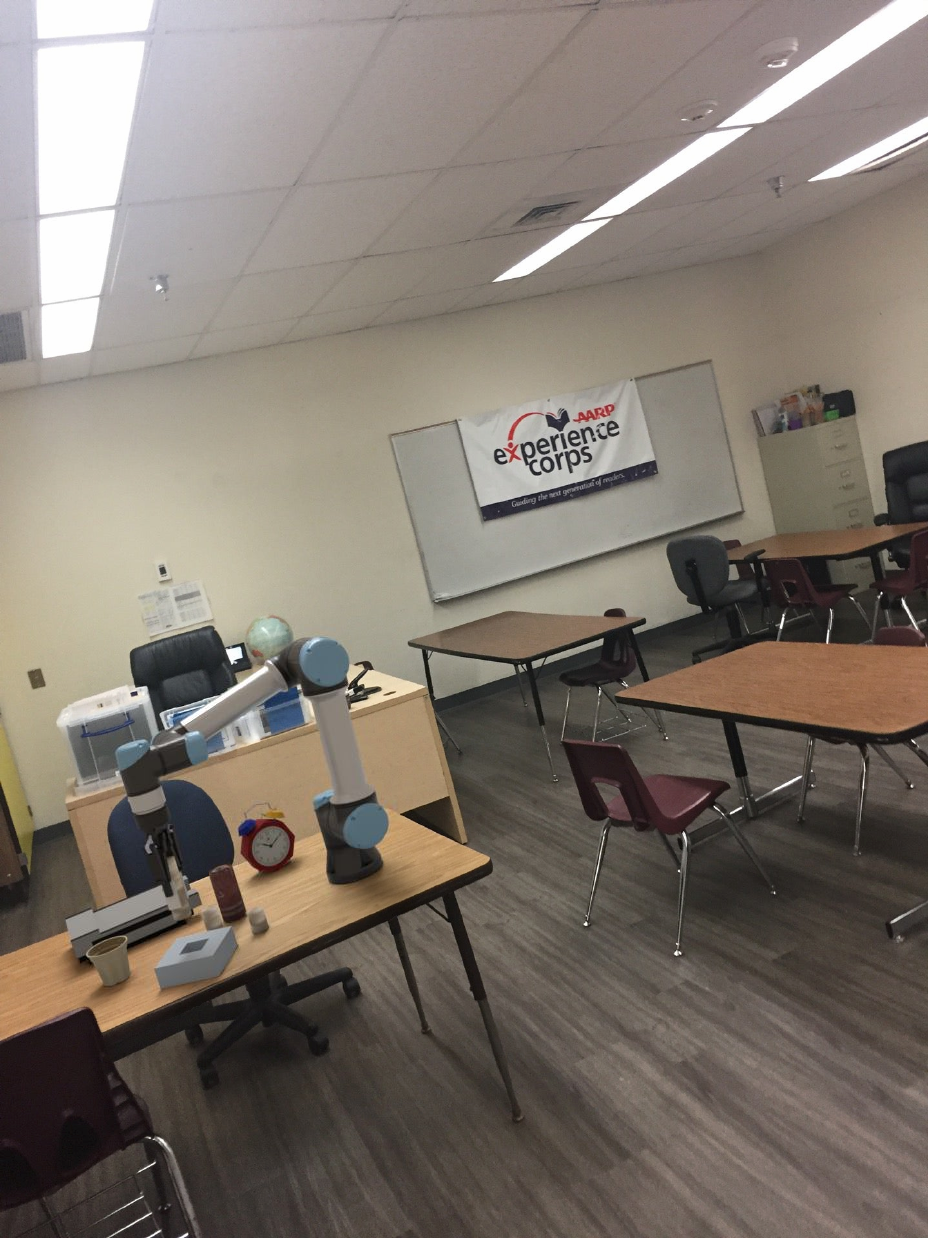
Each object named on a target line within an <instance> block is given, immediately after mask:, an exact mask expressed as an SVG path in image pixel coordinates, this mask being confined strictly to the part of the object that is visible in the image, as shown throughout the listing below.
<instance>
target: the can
mask: <svg viewBox="0 0 928 1238" xmlns="http://www.w3.org/2000/svg"><path fill="white" fill-rule="evenodd" d="M208 877H209V880H210V883H211V886H212V889H213V892H214V895H215V898H216V902H217V907H218V910H219V913H220V916H221V920H222V922H225V923H227V924H229V923H235V922H237V921H240V920H241V919H243V918H244V917H245V916H247V908H246V906H245V905H246V904H245V902H244V899H243V896H242V893H241V889H240V887H239V886H240V885H239V883H238V879H237V877H236V873H235V870H234V866H233V865H232V864H231V863H230V862H223V863H219V864H217V865H214V866H213V867H211V868H210V869H209V871H208Z"/></svg>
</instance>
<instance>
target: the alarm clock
mask: <svg viewBox="0 0 928 1238" xmlns="http://www.w3.org/2000/svg"><path fill="white" fill-rule="evenodd" d="M259 805H267V806H268V808H269V809H268V810H267V812H266V813H264V812H260V816H261V818H257V819H253V818H249V819H248V817H247V813H248V812H249V811H250V810H252V809H253V808H254V807H256V806H259ZM243 813H244V818H245V819H244V820H243V821H242V820H241V822H240V823H241V824H239V826H238V827H237V832H238V837H241V843H240V854H241V856H242V857H243V858H244V859H245V860H246V861H247V862H248V864H250V866H251V867H252V868H253V869H255V870H257V875H258V876H259V877H260V876H261V875H262V873H263V872H272V871H280V869H282V868H283V867H284V866H285V865H286V864H288V862H292V857H294V852H295V839H296V835H295V834H294V833H293V831H292V830H290V828H289V827H288V826H287V825H286V824H285V822H283V821H282V820H280V819H285V818H286V815H285V814H284V812H283V811H282V810H279V809H277V807H276V806H274V808H273V807H272V806H271V804H270V803H269V801H268V802H259V803H254V804H253V805H251V807H249V808H248V809H246V810H245V811H244V812H243ZM263 817H264V818H263Z"/></svg>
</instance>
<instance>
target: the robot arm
mask: <svg viewBox="0 0 928 1238" xmlns="http://www.w3.org/2000/svg"><path fill="white" fill-rule="evenodd" d="M349 670H350V656H349V653H348V652H347V650H346V649H345V647H344V646H343V645H342V644H341V643H339V642H338V641H337V640H334V639H332V638H328V637H323V636H319V637H317V636H316V637H302V638H298V639H295V640H294V641H292V642H290V643H289V644H288V645H286V646H285V647H284V648H282V649H281V650H279V651H278V652H276V653H275V654H274V655H272V656H270V657H269V658H268V659H266V660H265V661H264V663H263V667H261V668H260V669H258V670H256V671H255V672H254V673H252V674H251V675H249V676H247V677H245V678H244V679H242V680H241V681H240V682H238V683H236V684H235V685H234V686H232V687H230V688H229V689H228V690H226V691H225V692H223V693H222V694H219V695H218V696H217V697H215V698H214V699H212V700H211V701H209V702H208V703H206V704H204V705H203V706H202V707H200V708H198V709H197V710H195V711H194V712H192V713H191V714H189V715H188V716H187V717H184V718H183V719H181V720H180V721H179V722H177V723H176V724H174V725H173V726H171V727H169V728H168V729H163V730H160V731H158V732H157V733H155V734H154V735H153V736H152V738H151V740H150V743H149V741H148V740H146V739H138V740H135V741H130V742H127V743H125V744H122V745H121V746H119V747H118V748H116V750H115V753H114V756H115V759H116V760H115V761H116V762H117V763H116V764H117V767H118V768H117V769H118V771H119V775H120V778H121V781H122V783H123V787H124V789H125V793H126V796H127V802H128V803H129V805H130V808H131V812H132V813H133V814H134V815H133V819H134V822H135V825H136V828H137V830H138V831H143V832H144V833H145V835H144V836H145V841H146V844H144V845H141V850H142V852H143V854H144V855H145V858H146V860H147V861H146V862H147V863H148V867H149V869H150V873H151V876H152V879H153V881H154V886H156V885H162V888H163V891H164V895H165V898H166V901H167V904H168V908H169V910H173V909H178V908H181V907H182V906H181V902H180V899H179V896H178V893H177V889H176V886H175V883H174V880H171V876H170V871H169V867H168V862H167V857H168V856H174V857H175V861H176V864H177V867H178V870H179V874H180V877H181V880H182V883H183V887H184V890H185V893H186V896H187V899H188V898H189V896H188V893H187V889H186V886H185V883H184V880H183V876H182V875H183V873H182V871H184V870H185V865H184V863H185V862H184V860H183V855H182V852H181V849H180V845H179V840H178V838H177V835H176V828H175V824H174V823H172V824H168V822H170V821H171V819H172V817H171V813H170V809H169V806H168V804H167V803H166V801H167V800H166V796H165V792H164V790H163V787H162V784H161V781H160V778H163V777H165V776H168V775H170V774H173V773H176V772H179V771H183V770H184V769H188V768H192V767H196V766H197V765H199V764H202V763H204V762H206V761H207V760H208V758H209V749H208V745H207V741H208V740H210V739H211V738H212V737H214V736H216V734H219V732H221V731H223V730H224V729H226V728H227V727H230V726H231V725H232V724H233V723H235V722H236V721H238V720H239V719H241V718H242V717H244V716H245V715H246V714H248V713H250V712H252V711H253V710H254V709H256V708H257V707H259V706H260V705H262V704H263V703H265V702H266V701H267V700H269V699H271V698H272V697H274V696H275V695H277V694H278V693H280V692H284V693H287V692H288V691H289V690H291V689H293V688H295V687H297V686H299V685H300V688H301V692H302V696H303V698H305V699H306V700H308V701H309V702H311V703H310V704H311V707H312V710H313V714H314V715H313V716H314V719H315V723H316V726H317V731H318V734H319V739H320V742H321V746H322V751H323V754H324V759H325V762H326V766H327V770H328V774H329V778H330V782H331V786H332V788H330V789H328V790H326V791H324V792H321V793H319V794H317V795H316V796H315V797H314V798H313V800H312V804H313V810H314V811H313V812H314V813H315V816H316V819H317V822H318V826H319V828H320V832H321V835H322V839H323V842H324V843H323V844H324V846H325V849H326V861H325V862H326V863H325V864H326V866H325V867H326V868H325V871H326V873H325V874H326V876H327V880H328V882H330V883H332V884H348V883H353V882H356V881H359V880H361V879H364V878H366V877H368V876H371V875H372V874H374V873H375V872H377V871H378V870H379V869H380V868H382V866H383V863H384V862H383V857H382V855H381V853H380V851H379V850H378V848H377V845H378V844H380V843H381V842H382V841H383V839H384V837H385V836H386V834H387V832H388V830H389V825H390V824H389V823H390V820H389V816H388V812H387V811H386V810H385V808H384V807H383V806H382V805H380V804H379V800H378V796H377V792H376V789H375V787H374V786H373V785H371V784H369V783H368V781H367V776H366V774H365V770H364V766H363V761H362V758H361V752H360V750H359V745H358V742H357V736H356V734H355V729H354V726H353V721H352V717H351V713H350V710H349V706H348V705H349V703H348V700H347V697H346V691H347V689H348V687H349V686H350V684H349V680H348V675H347V674H348V672H349Z"/></svg>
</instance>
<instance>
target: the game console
mask: <svg viewBox="0 0 928 1238" xmlns="http://www.w3.org/2000/svg"><path fill="white" fill-rule="evenodd" d="M182 876H183V880H184V883H185V886H186V889H187V893H188V896H189V898H188V899H187V900H188V903H189V906H190V909H191V913H192V914H191V915H190V916H189V917H187V918H190V917H192V916H194V915H195V911H194V909H197V908H198V907H201V906H203V902H202V900H201V896H200V893H199V892H198V890H197V889H196V887H195V888H191V885H190V882H189V878H188V877H187V875H186V874H185V873H182ZM187 918H185V919H183V920H179V921H175V920H174V917H173V914H172V911H171V910H169V908H168V904H167V901H166V898H165V895H164V891H163V888H162V885H154V886H152V887H149V888H147V889H145V890H141V891H140V892H137V893H135V894H132V895H130V896H127V897H124V898H122V899H120V900H118V901H115V902H113V903H110V904H107V905H105V906H103V907H101V908H98V909H95V910H94V911H93V908H92V907H89V908H87V909H84V910H80V911H79V912H77V913H74V914H72V915H70V916H67V917H65V919H64V920H65V923H66V927H67V931H68V935H69V936H68V937H69V940H70V944H71V946H72V950H73V953H74V956H75V958H76V960H78V961H79V964H80V965H81V964H83V963H85V962H88V964H89V966H90V967H91V966H94V964H93V962H91V961H90V959H89V958H88V957H87V956H86V953H87V952H88V951H89V950H90V949H91V948H92V947H93V946H95V945H96V944H98V943H100V942H102V941H104V940H107V939H110V938H113V937H117V936H126V937H127V947H126V948H127V951H128V950H130V949H132V948H135V947H137V946H139V945H142V944H143V943H146V942H148V941H151V940H153V939H155V938H157V937H160V936H162V935H164V934H167V933H170V932H171V931H173V930H175V929H178V928H180V927H182V926H185V925H187V924H188V923H187V920H186V919H187Z"/></svg>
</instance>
